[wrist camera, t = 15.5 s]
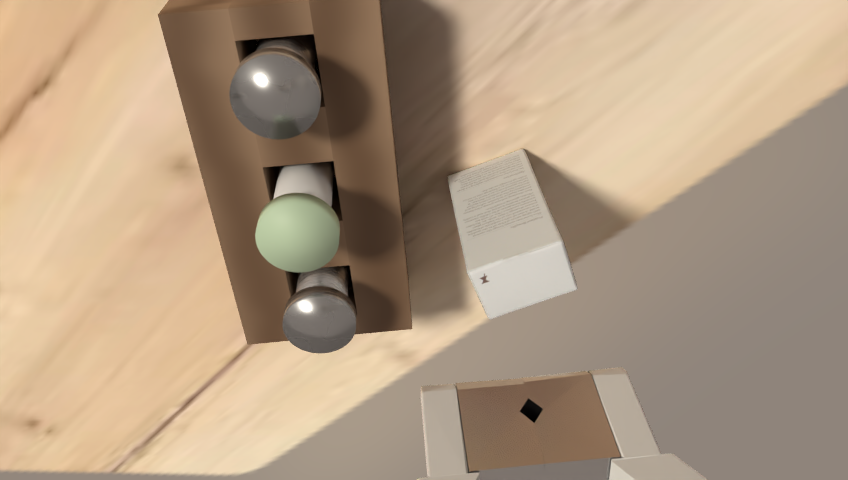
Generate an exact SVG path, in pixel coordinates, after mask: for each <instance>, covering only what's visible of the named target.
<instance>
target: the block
mask: <svg viewBox="0 0 848 480" xmlns="http://www.w3.org/2000/svg"><path fill="white" fill-rule="evenodd" d="M158 17H159V20H160V24H161V28H162V31H163V35H164V39H165V42H166V46H167V50H168V54H169V57H170V61H171V65H172V68H173V72H174V76H175V79H176V83H177V87H178V90H179V94H180V98H181V101H182V105H183V109H184V112H185V116H186V120H187V123H188V127H189V131H190V134H191V138H192V142H193V145H194V149H195V153H196V156H197V160H198V164H199V167H200V171H201V175H202V179H203V182H204V186H205V190H206V193H207V197H208V201H209V204H210V208H211V212H212V215H213V219H214V223H215V226H216V230H217V234H218V237H219V241H220V245H221V248H222V252H223V256H224V259H225V263H226V267H227V270H228V274H229V278H230V281H231V285H232V289H233V292H234V296H235V300H236V303H237V307H238V311H239V315H240V318H241V322H242V326H243V329H244V333H245V337H246V340H247V344H258V343H269V342H279V341H289V340H288V339H287V337H286V336H285V334H284V331H283V326H282V324H283V316H284V309H285V306H286V303H287V301H288V300H289V299H290V297H291V296H292V295H294V294H295V293H296V287H297V279H298V272H290V271H285V270H282V269H280V268H277V267H276V266H274V265H272V264H271V263H269V262H268V261H267V260H266V259H265V258H264V257H263V256H262V254H261V253H260V251H259V249H258V247H257V244H256V239H255V233H256V228H257V223H258V219H259V216H260V213H261V211H262V209H263V208H264V207H265V206H266V205H267V203H269V202H270V201H271V200H273V198H274V193H275V188H276V183H277V179H278V174H279V169H280V166H284V165H295V164H306V163H317V162H328V161H334V167H335V174H336V177H334V179H333V192H332V205H331V208H332V209H333V210H334V211H335V213H336V215H337V217H338V220H339V224H340V235H339V246H338V249H337V252H336V254H335V255H334V257H333V258H332V259H331V260H330V261H329V262H328V263H327V264H326V265H324V266H323V267H321V268H324V267H335V266H346V265H350V266H349V280H348V297H349V298H350V299H351V300H352V302H353V304H354V306H355V309H356V331H355V334H363V333H374V332H385V331H395V330H406V329H412V319H411V306H410V294H409V281H408V271H407V261H406V251H405V241H404V231H403V221H402V211H401V201H400V191H399V181H398V171H397V161H396V151H395V141H394V131H393V121H392V111H391V101H390V91H389V82H388V72H387V62H386V52H385V42H384V32H383V22H382V12H381V2H380V0H169V1H168V2H167V4H166V5H165V6H164V8H163V9H162V10H161V11H160V13H159V14H158ZM308 34H314V38H315V45H316V51H317V58H318V64H319V71H316V73H317V75H318V77H319V80H320V84H321V91H322V93H321V103H320V109H319V113H318V116H317V118H316V120H315V121H314V123H313V124H312V125H311V126H310V127H309V128H308V129H307V130H306V131H305V132H303V133H302V134H300V135H298V136H295V137H292V138H289V139H279V140H277V139H269V138H265V137H262V136H259V135H257V134H255V133H253V132H251V131H250V130H248V129H247V128H246V127H245V126H244V125H243V124H242V123H241V122H240V121H239V120H238V118H237V117H236V115H235V114H234V112H233V109H232V107H231V103H230V96H229V91H230V85H231V82H232V79H233V76H234V74H235V72H236V69H237V67H238V66H239V64H240V63H241V62H242V61H243V59H245V58H246V57H247V56H248V55H250V54H251V53H253V52H255V51H256V48H257V45H256V40H255V39H263V38H274V37H285V36H296V35H308Z"/></svg>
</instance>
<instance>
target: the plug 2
mask: <svg viewBox="0 0 848 480" xmlns="http://www.w3.org/2000/svg"><path fill="white" fill-rule="evenodd" d="M348 280H349V265H346V266H335V267H324V268H319V269H316V270H313V271H309V272H298V279H297V287H296V293H295V294H294V295H292V296H291V297H290V299H289V300H288V301H287V303H286V306H285V309H284V316H283V324H282V326H283V331H284V334H285V336H286V337H287V339H288V340H289V341H290V342H291V343H292V344H293V345H294V346H296V347H298V348H300V349H302V350H304V351H307V352H312V353H328V352H333V351H336V350H338V349H340V348H342V347H344V346H345V345H347V344H348V343H349V342H350V341H351V339H352V338H353V336H354V334H355V331H356V309H355V306H354V304H353V302H352V300H351V299H350V298H349V297H348Z"/></svg>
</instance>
